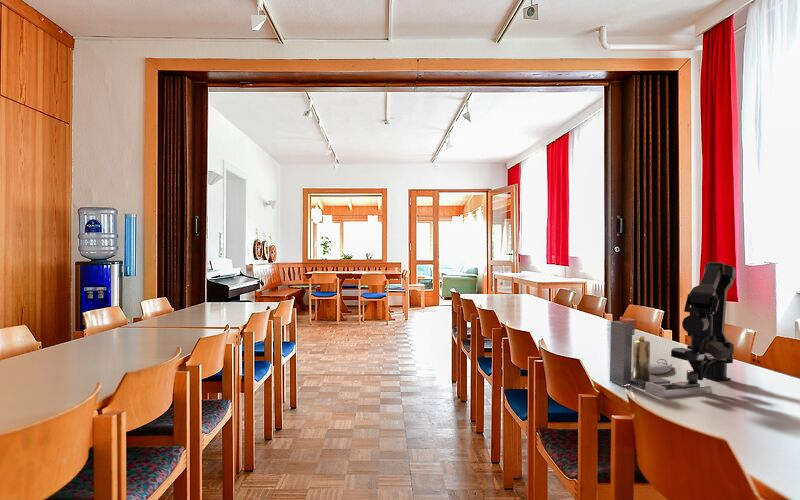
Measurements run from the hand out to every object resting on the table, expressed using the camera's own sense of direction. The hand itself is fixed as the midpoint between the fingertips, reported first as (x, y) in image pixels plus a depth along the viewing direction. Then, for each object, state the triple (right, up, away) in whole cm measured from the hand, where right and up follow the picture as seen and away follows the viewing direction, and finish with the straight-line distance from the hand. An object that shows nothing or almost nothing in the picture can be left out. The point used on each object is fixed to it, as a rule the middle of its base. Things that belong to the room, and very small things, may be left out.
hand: (700, 380), depth 149 cm
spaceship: (-2, -3, +23) cm, 23 cm away
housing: (-15, -1, +8) cm, 17 cm away
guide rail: (-8, -3, -3) cm, 9 cm away
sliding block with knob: (-6, -3, -2) cm, 7 cm away
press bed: (-17, -3, +7) cm, 18 cm away
